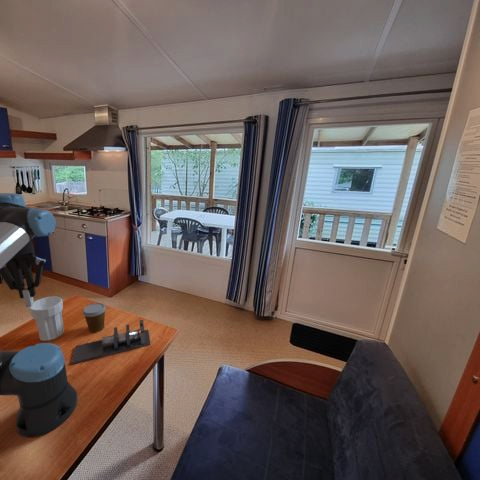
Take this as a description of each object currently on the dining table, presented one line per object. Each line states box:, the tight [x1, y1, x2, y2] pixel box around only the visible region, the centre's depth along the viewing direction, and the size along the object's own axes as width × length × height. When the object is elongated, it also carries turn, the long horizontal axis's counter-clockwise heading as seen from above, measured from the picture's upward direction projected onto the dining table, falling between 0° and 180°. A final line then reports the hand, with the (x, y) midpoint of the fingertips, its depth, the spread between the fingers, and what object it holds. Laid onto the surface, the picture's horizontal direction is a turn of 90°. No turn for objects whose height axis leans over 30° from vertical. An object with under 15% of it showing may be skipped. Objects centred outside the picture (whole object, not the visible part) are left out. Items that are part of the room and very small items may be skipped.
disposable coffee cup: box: [82, 302, 107, 333], centre depth 110 cm, size 10×10×12 cm
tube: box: [101, 328, 141, 347], centre depth 102 cm, size 16×4×4 cm, turn 117°
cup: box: [28, 295, 65, 343], centre depth 102 cm, size 11×11×17 cm
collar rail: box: [71, 319, 151, 365], centre depth 100 cm, size 10×30×8 cm, turn 117°
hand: (30, 304), depth 79 cm, fingers closed
